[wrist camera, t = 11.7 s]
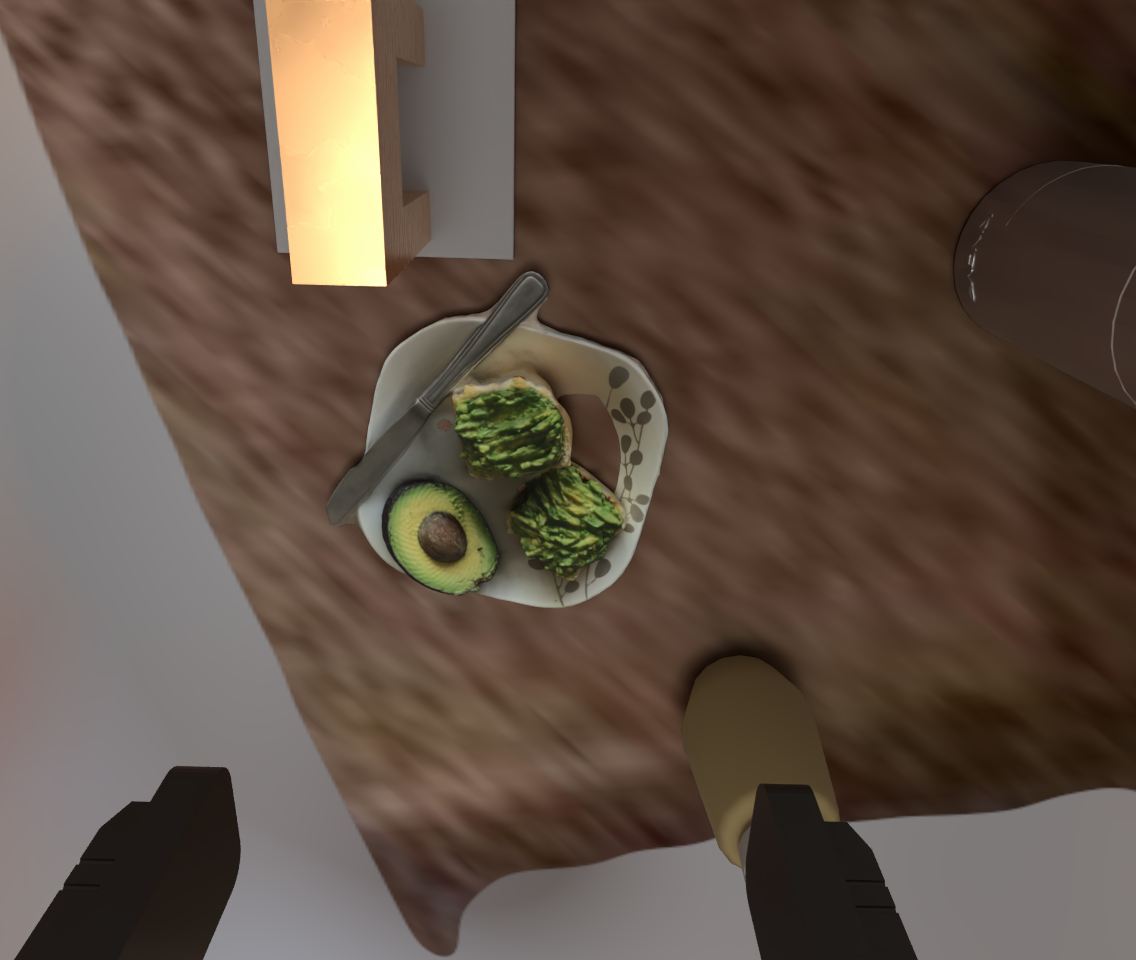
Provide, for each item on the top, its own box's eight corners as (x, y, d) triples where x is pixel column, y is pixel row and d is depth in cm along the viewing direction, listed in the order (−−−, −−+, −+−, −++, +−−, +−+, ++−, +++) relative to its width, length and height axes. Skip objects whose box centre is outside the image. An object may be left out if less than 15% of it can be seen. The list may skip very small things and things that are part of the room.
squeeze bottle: (677, 638, 54) (729, 869, 38) (805, 638, 54) (914, 869, 38) (669, 741, 57) (715, 997, 41) (791, 741, 58) (885, 996, 41)
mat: (515, -6, 40) (514, -8, 40) (513, 257, 45) (513, 259, 45) (255, -15, 40) (251, -17, 40) (281, 250, 45) (277, 252, 44)
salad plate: (385, 223, 45) (367, 235, 40) (712, 316, 47) (727, 337, 43) (323, 545, 52) (302, 584, 48) (608, 613, 54) (612, 656, 50)
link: (423, 8, 40) (368, -33, 29) (431, 240, 44) (386, 286, 33) (347, 6, 40) (262, -36, 28) (362, 238, 44) (292, 284, 33)
